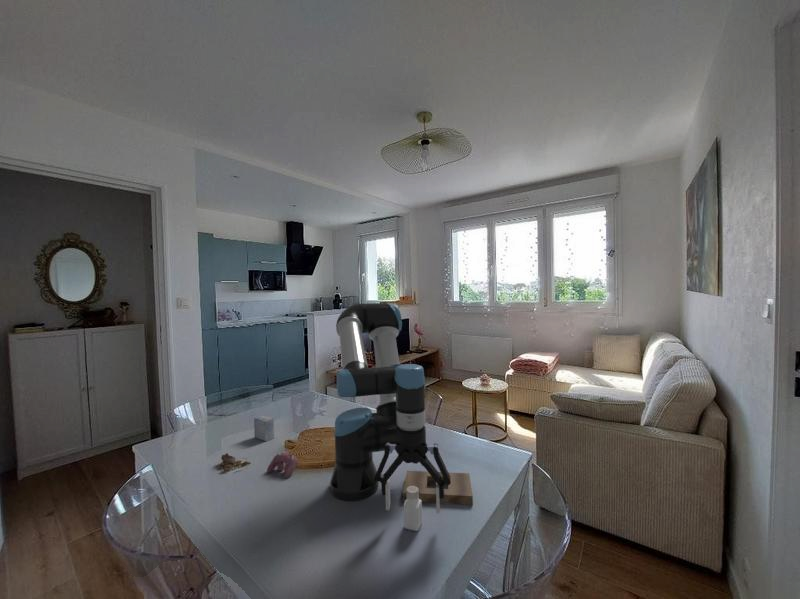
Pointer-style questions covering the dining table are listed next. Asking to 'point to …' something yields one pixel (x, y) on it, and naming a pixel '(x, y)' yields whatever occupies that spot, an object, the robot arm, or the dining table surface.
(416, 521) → the pepper shaker
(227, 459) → the frog figurine
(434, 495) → the spice block
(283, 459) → the video game controller
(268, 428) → the medicine box
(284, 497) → the dining table surface
